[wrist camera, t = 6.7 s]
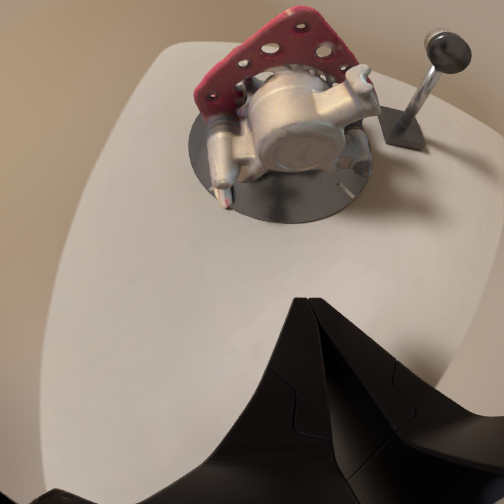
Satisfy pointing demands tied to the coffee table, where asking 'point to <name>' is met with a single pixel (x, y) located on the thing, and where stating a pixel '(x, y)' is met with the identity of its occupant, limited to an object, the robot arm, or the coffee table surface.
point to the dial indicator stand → (425, 87)
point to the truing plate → (280, 188)
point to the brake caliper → (286, 105)
